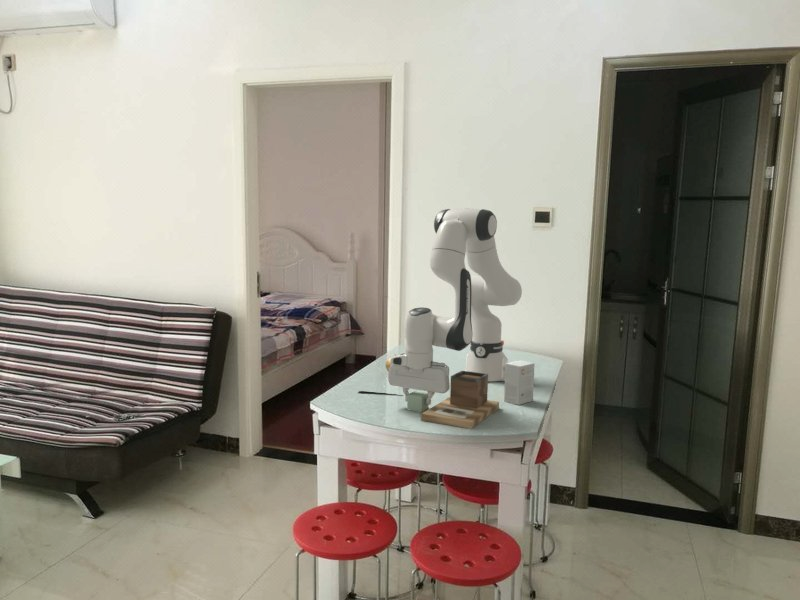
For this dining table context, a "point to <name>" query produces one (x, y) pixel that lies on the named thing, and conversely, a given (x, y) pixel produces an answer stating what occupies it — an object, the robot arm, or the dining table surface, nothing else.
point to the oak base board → (460, 421)
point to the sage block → (417, 401)
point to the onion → (388, 364)
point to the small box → (519, 382)
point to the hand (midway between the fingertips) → (418, 402)
